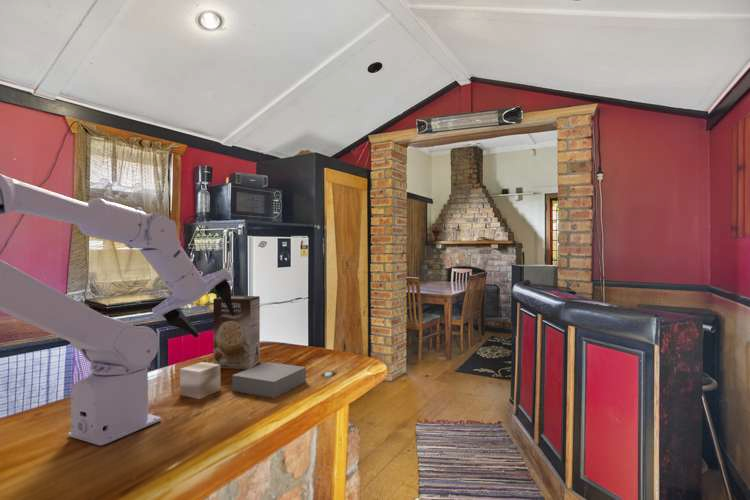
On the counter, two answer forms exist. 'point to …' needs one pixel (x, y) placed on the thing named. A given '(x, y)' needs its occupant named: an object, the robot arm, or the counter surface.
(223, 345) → the coffee box
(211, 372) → the cube
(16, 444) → the counter surface
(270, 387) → the base
